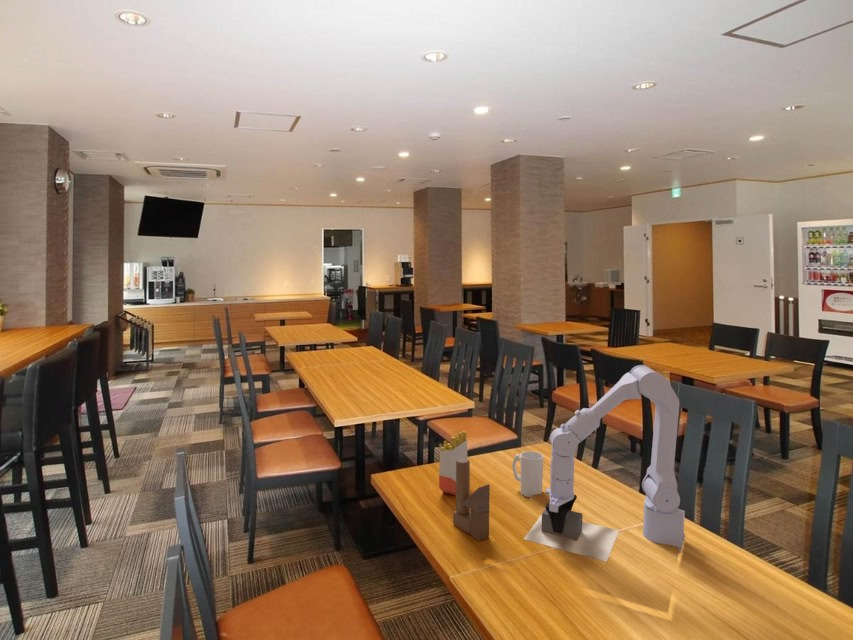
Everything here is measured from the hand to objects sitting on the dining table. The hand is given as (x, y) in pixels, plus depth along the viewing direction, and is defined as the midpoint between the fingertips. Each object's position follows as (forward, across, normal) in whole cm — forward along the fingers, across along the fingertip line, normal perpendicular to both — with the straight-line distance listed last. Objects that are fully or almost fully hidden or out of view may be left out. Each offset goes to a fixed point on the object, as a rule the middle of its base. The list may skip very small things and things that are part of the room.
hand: (560, 527), depth 133 cm
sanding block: (+1, 0, 0) cm, 1 cm away
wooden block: (+2, +9, -21) cm, 23 cm away
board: (+2, 0, +3) cm, 4 cm away
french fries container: (+2, -10, -36) cm, 38 cm away
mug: (+2, -20, -16) cm, 26 cm away
